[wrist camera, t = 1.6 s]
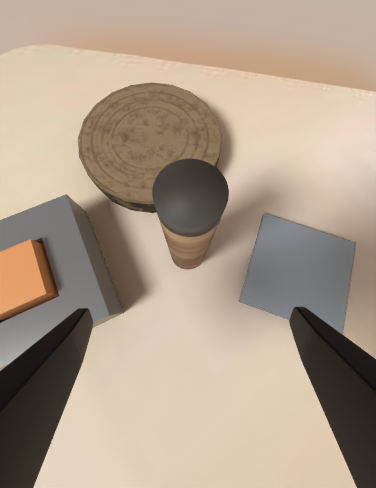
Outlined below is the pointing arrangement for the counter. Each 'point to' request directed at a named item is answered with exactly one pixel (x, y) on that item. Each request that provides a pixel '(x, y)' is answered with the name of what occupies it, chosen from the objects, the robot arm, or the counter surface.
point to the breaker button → (25, 279)
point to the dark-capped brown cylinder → (189, 208)
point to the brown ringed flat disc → (144, 139)
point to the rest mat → (299, 271)
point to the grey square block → (58, 272)
